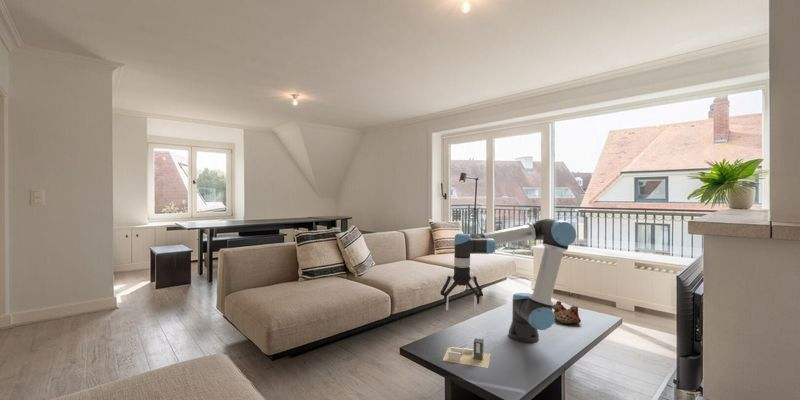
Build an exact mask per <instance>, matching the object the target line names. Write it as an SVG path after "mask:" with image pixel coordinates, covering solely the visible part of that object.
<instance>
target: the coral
mask: <svg viewBox="0 0 800 400" xmlns="http://www.w3.org/2000/svg"><path fill="white" fill-rule="evenodd" d="M552 310H554V311H553V313H554V315H555V320H557V321H558V322H559V323H562V324H579V323H581V321H582V320H581V318H580V315H579V307H578V306H576V305H571V306H570V307H569V308H568V309H567V308H566V307H564V305H563V304H562V301H560V300H557V301H555V303H553V308H552Z"/></svg>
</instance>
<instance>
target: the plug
mask: <svg viewBox="0 0 800 400" xmlns="http://www.w3.org/2000/svg"><path fill="white" fill-rule="evenodd" d="M484 340H485V339H483V338H478V337H475V338H474V339H473V351H474V357H473V359H476V360H482V361H483V353H484V348H485V347H484V345H485V344H484V343H485V342H484Z"/></svg>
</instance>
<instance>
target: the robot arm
mask: <svg viewBox="0 0 800 400" xmlns="http://www.w3.org/2000/svg"><path fill="white" fill-rule="evenodd" d="M576 238H577V232H576V229H575V227H574V225H573V224H572V223H571V222H569V221H565V220H563V219H555V218H544V219H540V220H536V221H530V222H527V223H526V225H525V224H524V225H520V226H515V227H509V228H503V229H499V230H494V231H489V232H488V231H487V232H483V233H482V232H481V233H477V234H474V233H456V234H455V236H454V243H453V245H454V255H453V256H454V257H453V258H454V260H453V261H454V263H453V264H454V267H453V276H452V275H449V274H448V275H447V277H446V281H445V282H444V284H443V286H442V288H441V290H440V295H441V296H443V303H444V304H445V310H446V311H449V295H450V293H451V292H452V291H453V290H454V289H455V288H456V287H457V286H459V287H461V286H463V287H465V286H468V288H469V289H470V291H472V293H473V294H474V298H473V299H474V300H473V301H474V302H473V303H474V304H473V305H474V306H473V309H474V311H475V312H478V305H480V297H483V296H484V293H483V291H482V289H481V287H480V285H479V283H478V280H477V279H478V277H477V276H476V275H472V276H471V267H470V266H471V254H472V255H475V254H477V255H480V254H481V255H484V254H485V255H489V254H493V253H495V251H496V246H501V245H507V244H510V243H516V242H521V241H527V240H530V241H542V245H543V247H544V248H543V254H542V257H541V260H540V264H539V268H538V271H537V276H536V280H535V284H534V288H533V292H532V293H529V292H515V293H514V294H513V295H512V312H511V313H512V318H511V319H512V321H511V324H510V327H509V328H508V336H509V338H511V339H512V340H514V341H517V342H522V343H537V342H538V341H539V340H540V338H539V337H540V334H539V331H545V330H549V328H551V327H553V325H554V323H555V320H556V318H555V315H554V311H553V305H554V302H553V301H552V297H553V293H554V290H555V285H556V282H557V278H558V273H559V271H560V266H561V262H562V258H563V255H564V252H567V251H568V248H569V246H570V245H572V244H573V243H574V242H575V240H576ZM452 280H453V282H452V284H451V285H450V282H451V281H452ZM471 281H473V283H474V285H475V287H476V289H477V291H476V290H475V288H474V287H473V286H472V285H471V283H470V282H471ZM449 285H450V286H449ZM448 286H449V287H448ZM538 330H539V331H538Z"/></svg>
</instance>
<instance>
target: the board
mask: <svg viewBox="0 0 800 400" xmlns="http://www.w3.org/2000/svg"><path fill="white" fill-rule="evenodd" d="M491 355H492V354H491V353H486V352H483V361H482V360H476V359H473V357H474V348H467V347H463V348H461V347H454V346H451V347H447V350H446V352H445V353H444V356H443V359H442V361H443V362H450V363H454V364H456V363H457V364H459V365H460V364H462V365H468V366H474V367H479V368H485V369H489V365H490V360H491Z"/></svg>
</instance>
